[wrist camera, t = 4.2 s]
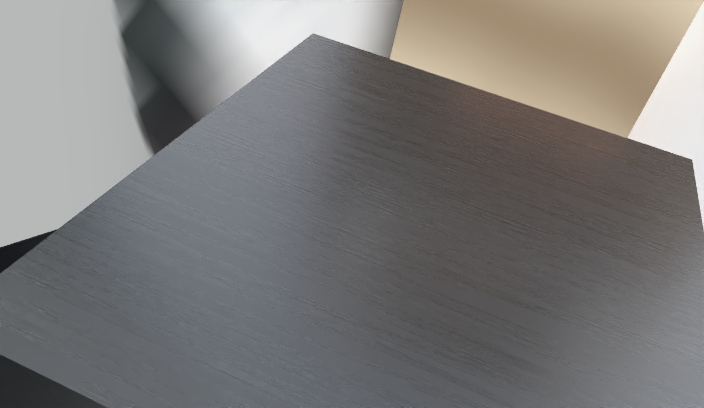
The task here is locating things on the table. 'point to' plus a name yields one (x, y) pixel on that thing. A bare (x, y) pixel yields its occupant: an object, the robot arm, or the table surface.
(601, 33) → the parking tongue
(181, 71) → the table surface
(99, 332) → the grey angular block
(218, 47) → the table surface
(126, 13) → the table surface
